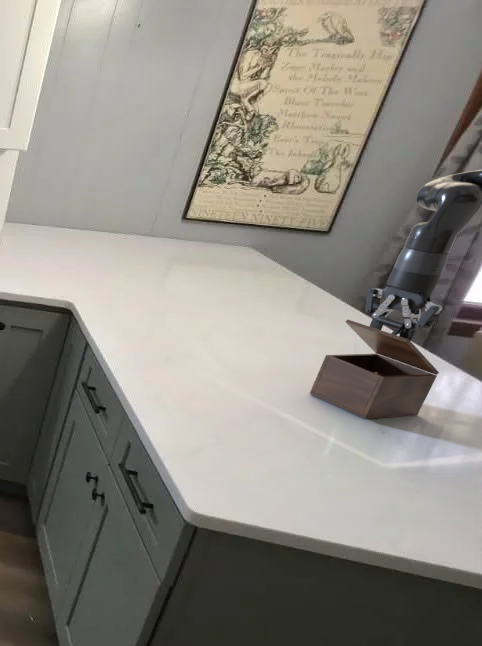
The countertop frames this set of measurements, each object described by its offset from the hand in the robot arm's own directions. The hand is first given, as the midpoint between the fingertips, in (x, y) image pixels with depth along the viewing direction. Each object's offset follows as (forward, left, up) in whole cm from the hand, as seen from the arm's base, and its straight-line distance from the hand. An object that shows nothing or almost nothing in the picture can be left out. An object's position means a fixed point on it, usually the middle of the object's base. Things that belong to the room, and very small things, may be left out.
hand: (387, 337), depth 149 cm
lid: (-2, 0, -3) cm, 3 cm away
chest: (-1, 0, -18) cm, 18 cm away
